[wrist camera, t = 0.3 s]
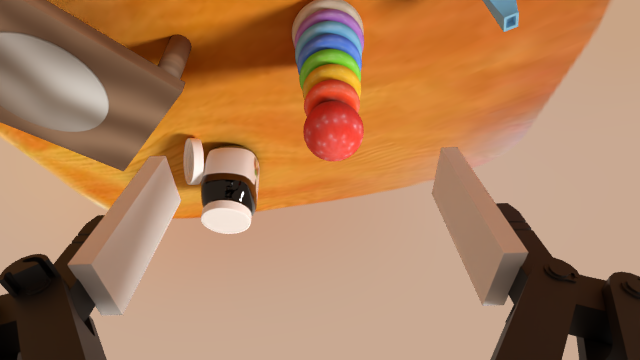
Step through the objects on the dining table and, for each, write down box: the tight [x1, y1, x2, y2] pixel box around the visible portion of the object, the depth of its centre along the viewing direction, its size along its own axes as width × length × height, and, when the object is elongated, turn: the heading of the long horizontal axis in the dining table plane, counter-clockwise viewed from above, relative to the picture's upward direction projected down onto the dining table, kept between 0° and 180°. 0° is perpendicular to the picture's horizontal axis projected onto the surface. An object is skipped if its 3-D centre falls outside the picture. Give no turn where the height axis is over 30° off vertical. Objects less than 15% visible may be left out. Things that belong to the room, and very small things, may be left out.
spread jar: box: [184, 138, 259, 234], centre depth 51 cm, size 12×11×12 cm
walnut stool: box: [0, 0, 191, 171], centre depth 35 cm, size 16×20×9 cm
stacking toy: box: [292, 0, 364, 161], centre depth 33 cm, size 8×8×19 cm
